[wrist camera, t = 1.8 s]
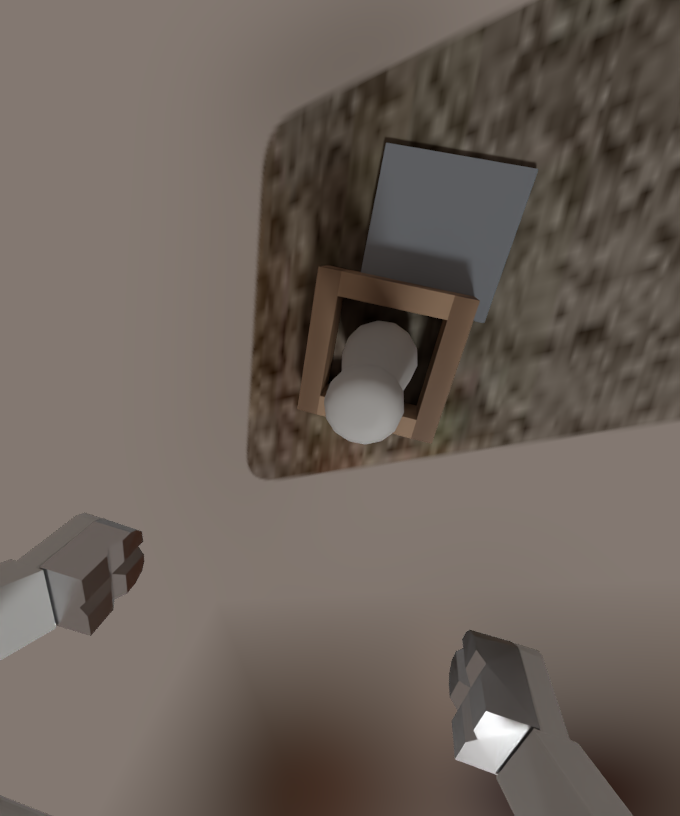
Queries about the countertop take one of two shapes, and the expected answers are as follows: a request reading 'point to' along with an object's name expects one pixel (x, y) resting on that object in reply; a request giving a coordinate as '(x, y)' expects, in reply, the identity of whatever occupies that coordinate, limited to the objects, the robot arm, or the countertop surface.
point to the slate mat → (445, 220)
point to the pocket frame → (396, 295)
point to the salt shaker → (371, 383)
